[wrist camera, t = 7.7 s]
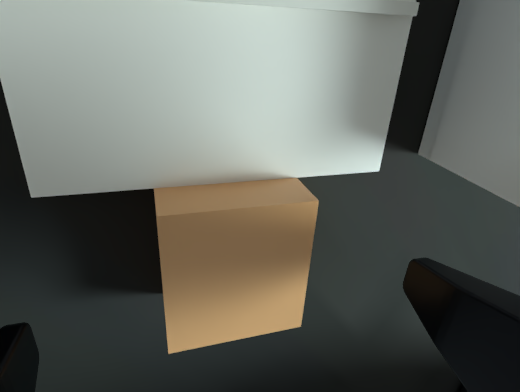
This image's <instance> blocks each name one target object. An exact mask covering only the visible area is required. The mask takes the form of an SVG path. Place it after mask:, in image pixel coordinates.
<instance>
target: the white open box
mask: <svg viewBox="0 0 520 392" xmlns="http://www.w3.org/2000/svg"><path fill="white" fill-rule="evenodd" d="M418 154H419V155H421V156H423V157H425V158H427V159H428V160H430V161H432V162H434V163H436V164H438V165H440V166H442V167H444V168H446V169H448V170H450V171H451V172H453V173H455V174H457V175H459V176H461V177H463V178H465V179H467V180H469V181H471V182H473V183H474V184H476V185H478V186H480V187H482V188H484V189H486V190H488V191H490V192H492V193H494V194H496V195H497V196H499V197H501V198H503V199H505V200H507V201H509V202H511V203H513V204H515V205H517V206H519V207H520V0H460V2H459V5H458V9H457V13H456V16H455V20H454V24H453V27H452V31H451V35H450V38H449V42H448V46H447V49H446V53H445V57H444V60H443V64H442V68H441V71H440V75H439V79H438V82H437V86H436V90H435V93H434V97H433V101H432V105H431V108H430V112H429V116H428V119H427V123H426V127H425V130H424V134H423V138H422V141H421V145H420V149H419V152H418Z"/></svg>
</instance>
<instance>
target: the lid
mask: <svg viewBox="0 0 520 392" xmlns="http://www.w3.org/2000/svg"><path fill="white" fill-rule="evenodd" d="M419 3H420V2H416V0H0V80H1V84H2V87H3V91H4V95H5V99H6V103H7V107H8V111H9V114H10V118H11V122H12V126H13V130H14V134H15V137H16V141H17V145H18V149H19V153H20V157H21V161H22V164H23V168H24V172H25V176H26V180H27V184H28V188H29V191H30V195H31V198H34V197H47V196H60V195H74V194H87V193H100V192H113V191H126V190H139V189H153V188H154V197H155V208H156V220H157V231H158V243H159V254H160V266H161V277H162V288H163V300H164V310H165V321H166V332H167V342H168V353H169V354H170V353H175V352H180V351H185V350H189V349H194V348H199V347H204V346H209V345H214V344H219V343H223V342H228V341H233V340H238V339H243V338H248V337H253V336H257V335H262V334H267V333H272V332H277V331H282V330H287V329H291V328H296V327H301V322H302V315H303V308H304V301H305V294H306V287H307V280H308V273H309V266H310V259H311V252H312V245H313V238H314V231H315V224H316V217H317V210H318V203H319V200H318V199H317V198H316V197H315V196H314V195H313V194H312V193H311V192H310V191H309V190H308V189H307V188H306V187H305V186H304V185H303V184H302V183H301V182H300V181H299V180H298V179H297V177H310V176H323V175H337V174H350V173H363V172H376V171H379V169H380V164H381V160H382V155H383V151H384V146H385V141H386V137H387V132H388V128H389V123H390V118H391V114H392V109H393V105H394V100H395V95H396V91H397V86H398V82H399V77H400V72H401V68H402V63H403V59H404V54H405V49H406V45H407V40H408V36H409V31H410V26H411V22H412V17H413V16H417V12H418V7H419Z"/></svg>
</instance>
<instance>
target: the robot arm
mask: <svg viewBox="0 0 520 392" xmlns="http://www.w3.org/2000/svg"><path fill="white" fill-rule="evenodd" d="M403 289H404V292H405V294H406V296H407V297H408V299H409V301H410V303H411V304H412V306H413V308H414V310H415V311H416V313H417V315H418V317H419V318H420V320H421V322H422V324H423V325H424V327H425V329H426V330H427V332H428V334H429V336H430V337H431V339H432V341H433V342H434V344H435V345H436V347H437V348H438V350H439V351H440V353H441V354H442V356H443V357H444V358H445V360H446V361H447V363H448V364H449V366H450V367H451V368H452V370H453V371H454V373H455V374H456V376H457V377H458V378H459V380H460V381H461V383H462V384H463V387H462V389H461V391H460V392H520V296H519V295H516V294H514V293H511V292H509V291H506V290H504V289H502V288H499V287H497V286H494V285H492V284H489V283H487V282H485V281H482V280H480V279H477V278H475V277H472V276H470V275H468V274H465V273H463V272H460V271H458V270H455V269H453V268H451V267H448V266H446V265H443V264H441V263H438V262H436V261H433V260H431V259H429V258H418V259H413V260H411V261H410V262H409V265H408V268H407V271H406V275H405V278H404V281H403ZM38 365H39V352H38V348H37V345H36V342H35V339H34V336H33V332H32V329H31V327H30V325H29V324H28V323H25V322H23V323H17V324H11V325H6V326H3V327H2V328H1V329H0V392H35V387H36V379H37V372H38Z"/></svg>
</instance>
